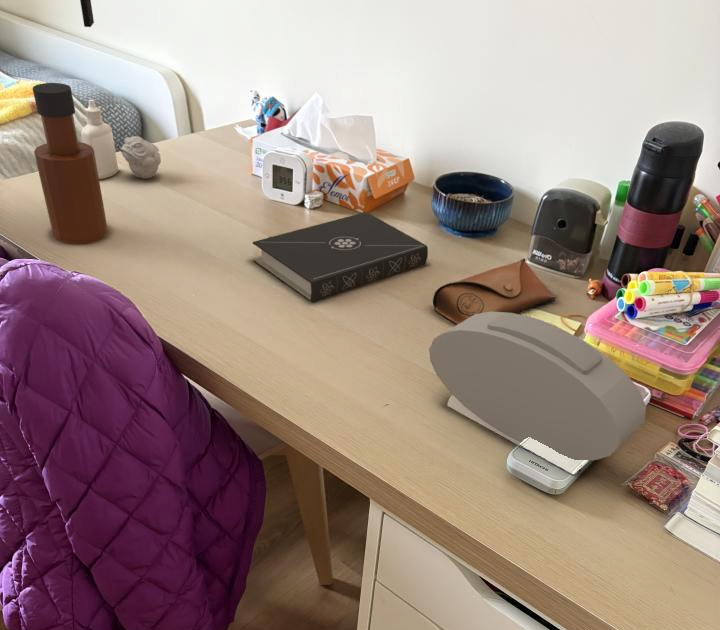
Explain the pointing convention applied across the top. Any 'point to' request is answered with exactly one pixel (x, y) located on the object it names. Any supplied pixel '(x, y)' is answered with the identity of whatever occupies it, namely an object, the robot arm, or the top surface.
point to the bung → (54, 100)
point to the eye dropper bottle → (100, 142)
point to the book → (339, 255)
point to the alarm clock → (537, 384)
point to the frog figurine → (141, 156)
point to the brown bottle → (70, 183)
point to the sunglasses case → (492, 293)
